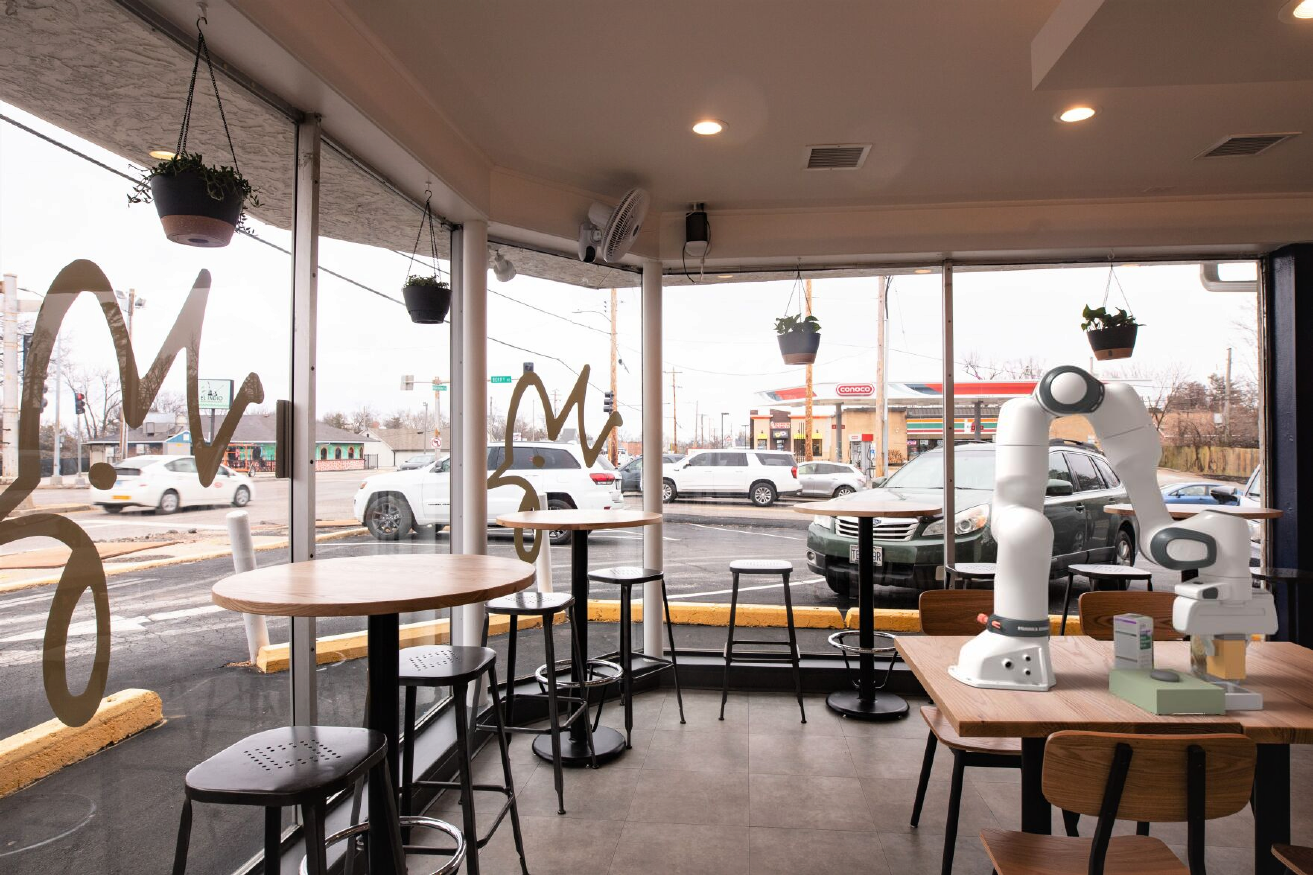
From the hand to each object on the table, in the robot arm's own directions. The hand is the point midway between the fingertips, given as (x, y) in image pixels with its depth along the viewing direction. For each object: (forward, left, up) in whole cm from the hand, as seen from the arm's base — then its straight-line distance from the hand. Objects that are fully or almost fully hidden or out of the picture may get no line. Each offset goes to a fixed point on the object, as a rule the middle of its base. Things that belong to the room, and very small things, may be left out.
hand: (1225, 655), depth 154 cm
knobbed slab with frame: (-8, 0, -10) cm, 13 cm away
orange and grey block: (0, 0, -4) cm, 4 cm away
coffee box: (+12, +17, -10) cm, 23 cm away
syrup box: (-8, +16, -10) cm, 21 cm away
